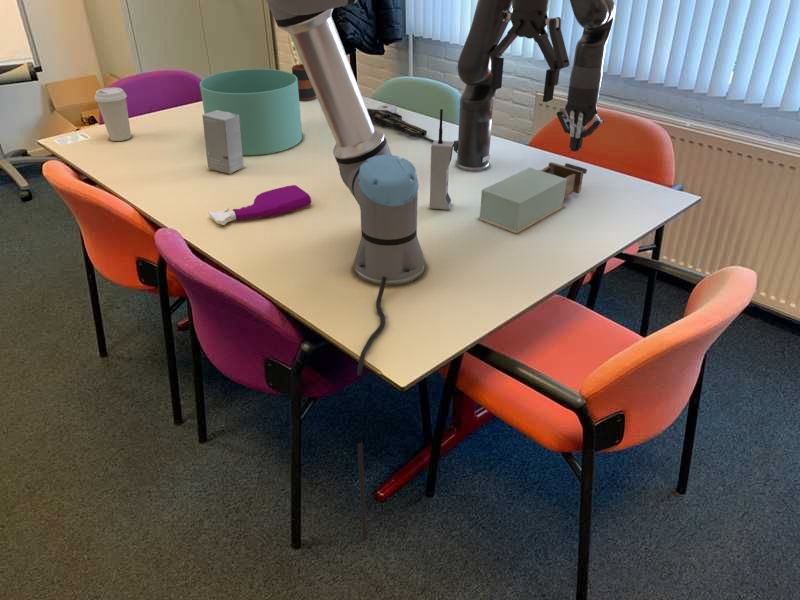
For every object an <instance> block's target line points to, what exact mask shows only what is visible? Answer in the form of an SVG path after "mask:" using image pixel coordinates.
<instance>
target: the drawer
mask: <svg viewBox="0 0 800 600" xmlns="http://www.w3.org/2000/svg"><path fill="white" fill-rule="evenodd" d="M539 170H540V171H543V172H546V173H549V174H553V175H556V176H559V177H562V178H565V179H567V182H566V188H565V195H564V199H565V198H567V197H568V196H570V195H572V194H573V193H574V194H577V195H579V194H580V193H581V191H582V184H583V177H584V175H586V174H587V172H588V169H587V168H586V167H581V166H578V165H575V164H571V163H568V162H566V163H565V164H564V165H562V164H559V163H557V162H556V163H555V162H553V161H551V162H548V165H547V166H546V167H544V168H542V169H539Z"/></svg>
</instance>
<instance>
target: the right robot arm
mask: <svg viewBox="0 0 800 600" xmlns="http://www.w3.org/2000/svg"><path fill="white" fill-rule="evenodd" d="M569 3H570V7H571V10H572V13H573V15H574V18H575V20H576V21H577V23H578V25H579V26H580V27H581V28H583V30H582V34H581V36H580V39H579V40H578V41H577V43H576V44H575V49H574V56H573V64H572V69H571V71H570V77H569V84H568V91H567V98H566V100H567V103H566V104H565V106H564V108H563V109H562V110H561V109H560V110H558V111H556V117H557V119H558V121H559V123H560V125H561V127H562V129H563V132H564V133H565V134H568V135H569V136H570V137H569V138H570V139H569V144H568V145H569V149H570V151H571V152H575V153H577V152H578V151H579V152H580V150H581V149H582V148H583V143H584V141H583V140H584V138H587V137H590V136H591V135H592V134H593V133H594V132H595V131H596V130H597V129H599V127H601V126H602V125H603V124H604V123H605V120H604V118H600V117H599V115H598V108H597V105H598V102H599V97H600V91H601V85H602V78H603V66H604V59H605V54H606V47H607V44H608V40H609V37H610V36H611V35H610V34H611V31H612V28H613V24H614V21H615V15H616V5H615V1H614V0H569ZM505 10H509V11H510V12H512V10H513V8H512V0H477V3H476V7H475V9H474V14H473V18H472V20H471V21H472V22H471V25H470V29H469V30H468V34H467V37H466V39H465V41H464V43H463V44H464V45H463V47H462V50H461V52H460V54H459V57H458V60H457V67H456V68H457V74H458V77H459V79H460V80H461V83H463V84H465V87H464V90H463V92H462V94H461V95H460V97H459V98H460V99H459V113H458V114H459V115H458V117H459V118H458V133H457V134H458V136H457V137H458V138H457V140H453V142H454V144H453V152H455V153H456V154H457V155H456V167H457V168H458V169H461V170H463V171H468V172H469V171H470V172H479V171H484V170H486V169H488V168H489V166H490V160H491V154H490V150H491V137H492V127H493V113H494V112H493V111H494V102H495V99H496V96H497V93H498V89H496V90H492V77H493V73H491V71H490V70H491V57H490V56H489V55H488V54H485V53H484V49H485V47H486V45H487V43H488V41H489V39H490V37H491V35H492V33H493V31H494V29H495V27H496V24H497V22H498V17H499V12H500V11H505ZM590 122H591V125H590V126H589V127H588V125H589V123H590ZM417 137H418V138H420V139H423V140H425V141H428V142H431V143H433V142H434V141H435V140H434V139H432V138H429V137H427V136H425V137H424V136H417Z"/></svg>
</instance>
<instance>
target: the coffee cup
mask: <svg viewBox="0 0 800 600" xmlns="http://www.w3.org/2000/svg"><path fill="white" fill-rule="evenodd" d="M127 97H128V95H127V93H126V92H125V91H124V89H123V88H121V87H105V88H100V89H98V90H96V91H95V95H94V101H96V103H97V107H98V109H99V111H100V114H101V117H102V121H103V124H104V126H105V129H106V131H107V134H108V137H109V140H110V141H114V142H122V141H123V142H124V141H126V140H129V139H131V138H132V133H131V132H132V131H131V126H130V118H129V111H128V104H127Z"/></svg>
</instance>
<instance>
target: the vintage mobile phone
mask: <svg viewBox="0 0 800 600" xmlns="http://www.w3.org/2000/svg"><path fill="white" fill-rule="evenodd" d="M443 112H444V109H443V108H440V109H439V128H438V140H436V139H435V140H434V142H432V144H431V146H430V176H429V177H430V179H429V180H430V181H429V208H430V209H435V210H446V211H448V210H450V208H451V205H452V199H451V197H450V195H449V173H450V171H449V169H450V164H451V161H452V157H453V152H454V147H453V144H454V141H450V140H443V115H444V114H443Z"/></svg>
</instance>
